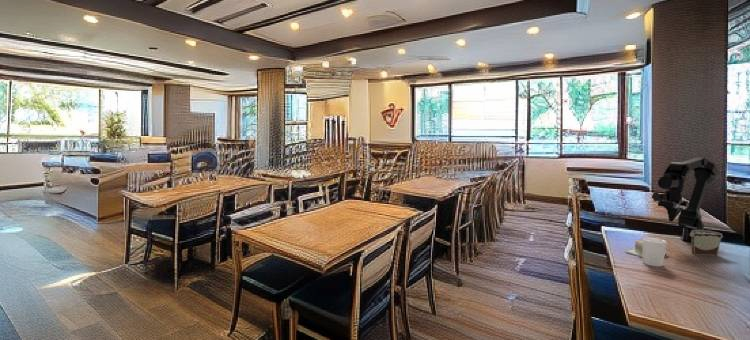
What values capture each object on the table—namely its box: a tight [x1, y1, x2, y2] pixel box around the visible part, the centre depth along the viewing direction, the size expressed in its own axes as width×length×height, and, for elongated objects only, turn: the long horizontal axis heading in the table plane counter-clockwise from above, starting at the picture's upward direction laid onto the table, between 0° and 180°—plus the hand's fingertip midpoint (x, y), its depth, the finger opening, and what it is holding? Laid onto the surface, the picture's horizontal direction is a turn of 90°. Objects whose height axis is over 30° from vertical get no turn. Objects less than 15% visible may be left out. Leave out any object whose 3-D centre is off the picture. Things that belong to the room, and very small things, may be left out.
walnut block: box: [634, 238, 643, 254], centre depth 170 cm, size 5×5×12 cm
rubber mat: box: [625, 248, 667, 258], centre depth 169 cm, size 14×9×1 cm, turn 115°
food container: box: [690, 229, 724, 256], centre depth 170 cm, size 12×6×10 cm, turn 84°
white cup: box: [642, 237, 668, 267], centre depth 155 cm, size 8×8×10 cm
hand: (670, 221), depth 180 cm, fingers closed
